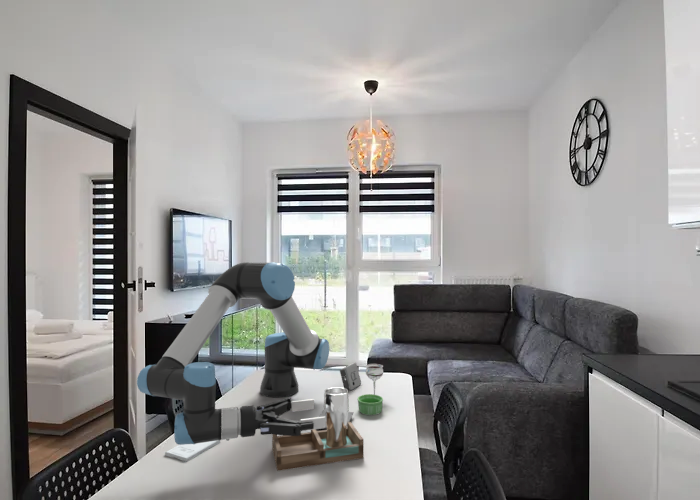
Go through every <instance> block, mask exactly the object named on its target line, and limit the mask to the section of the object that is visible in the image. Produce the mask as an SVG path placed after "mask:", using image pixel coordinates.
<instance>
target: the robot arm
mask: <svg viewBox="0 0 700 500" xmlns="http://www.w3.org/2000/svg"><path fill="white" fill-rule="evenodd" d="M295 286H296V282H295V275H294V273H293V271H292V269H291V268H290V266H288V265H287V264H285V263H280V262H274V261H269V262H241V263H237V264H235V265H233V266H231V267H230V268H228V269H227V270H225V271H224V272H223V273H221V274H220V275H219V276H218V277H217V278H216V279H215V280H214V282H213V283H212V284H211V285H210V287H209V288H208V291H207V293H208V295H207V296H206V298H204V300H203V301H202V303H201V304H200V305H199V307H198V308H197V310H195V312H194V313H193V315H192V316H191V318H190V319H189V320H188V321H187V323H186V324H185V325H184V327H183V328H182V329H181V331H180V332H179V333H178V334H177V336H176V338H175V339H174V340H173V342H172V343H171V344H170V346H169V347H168V348H167V350H166V351H165V352H164V354H163V355H162V357H161V358H160V359H159V360H158V362H157V363H155V364H149V365H146V366H145V367H143V368H142V369H141V370H140V371H139V373H138V375H137V379H136V386H137V388H138V390H139V391H140V392H141V393H143V394H145V395H147V396H148V395H149V396H152V397H161V398H169V399H173V400H179V401H183V411H182V412H179V413H177V414H176V415H175V418H174V431H173V432H174V434H173V436H174V438H173V439H174V442H175V443H176V445H177V446H178V445H184V444H196V443H203V442H210V441H217V440H220V441H223V440H225V441H230V440H232V439H237V438H238V437H239V436H240V437H241V438H247V437H254V436H255V435H256V430H260V435H263V436H266V435H272V434H273V435H277V436H283V435H287V436H300V435H301V433H302V432H304V431H311V430H314V429H316V430H319V429H320V430H321V428H326V417H325V416H324V417H319V416H317V417H310V418H309V417H308V418H301V419H299V420H294V419H288V418H283V417H280V416H281V415H283V414H285V413H287V412H290V411H291V412H301V411H310V410H314V409H315V398H309V399H300V400H292V398H290V397H289V396H292V395H295V394H297V393H298V392H299V381H298V378H297V375H296V373H295V368H301V369H309V370H310V369H311V370H313V371H315V370H323V368H325V367H326V365H327V363H328V360H329V355H330V342H329V340H328V339H325V338H320V336H319V335H318V333H317V332H316V331H314V330H313V329H310V327H309V325H308V324H307V322H306V320H305V317H304V316H303V315H302V312H301V311H300V308H299V307H298V305H297V303H296V301H295V300H294V299H293V294H294V291H295ZM244 298H245V299H256V300H257V301H258V302H259V304H260V306H261V307H262V308H264V309H265V310H268V311H270V312H271V314H272V316H273V317H274V319H275V321H276V322H277V324H278V326H279V327H280V329H281V330H282V331H281V332H276V333H272V334H269V335H267V336H266V337H265V338H264V339H265V340H264V374H263V377H262V380H261V383H260V387H259V388H260V389H259V390H260V391H259V392H260V394H261V395H262V396H264V397H268V398H283V397H288V398H284V399H280V400H277V401H274V402H269V403H266V404H263V405H256V406H255V405H254V404H250V405H242V406H241V407H238V406H231V407H223V408H216V387H217V386H216V384H217V383H216V382H217V377H216V367H215V365H214V364H213V363H212V362H209V361H197V362H195V361H194V360H195V359H196V357H197V355H198V354H199V353H200V351H201V350H202V349H203V346H204V345H206V344H205V343H206V342H207V341H208V340H209V338H210V337H211V335H212V334H213V332H214V331H215V329H216V328H217V326H218V325H219V323H220V322H221V320H222V318H223V317H224V316H225V314H226V313H227V311H229V310H228V309H229V308H232V307H234V306H235V305H236V304H237V302H238V301H240V300H241V299H244ZM193 361H194V362H193Z"/></svg>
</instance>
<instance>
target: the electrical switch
mask: <svg viewBox="0 0 700 500" xmlns="http://www.w3.org/2000/svg"><path fill="white" fill-rule="evenodd" d="M339 373H340V376H341V381H342V384H343V388H346V389H347V390H348V389H349V391H352V390H354V389H355V388H357V387H359V386H360V385H362V379H361V376H360V373H359V368H358V364H357V362H352V363H350V364H349V365H346V366H345V367H343V368H341V369H339Z"/></svg>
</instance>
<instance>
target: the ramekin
mask: <svg viewBox="0 0 700 500" xmlns="http://www.w3.org/2000/svg"><path fill="white" fill-rule="evenodd" d="M356 400H357V404H358V410H359V411H358V412H359V413H361V414H363V415H367V416H374V415H375V416H376V415H378V414H380V413H381V412H382V409H383V402H384V398H383V397H382V396H380V395H378V394H375V395H374V393H372V394H370V393H369V394H368V393H367V394H362V395H359V396H357V399H356Z"/></svg>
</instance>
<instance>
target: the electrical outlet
mask: <svg viewBox="0 0 700 500" xmlns="http://www.w3.org/2000/svg"><path fill="white" fill-rule="evenodd" d="M353 415H354V411H349V412H348V419H347V422H351V419H352V418H353ZM324 416H325V415H324V409H323V410H322V411H321V412H320V414H319V416H318V417H324ZM346 427H347V425H346ZM321 429H322V430H327V427H326V428H321ZM321 429H320V430H321Z"/></svg>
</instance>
